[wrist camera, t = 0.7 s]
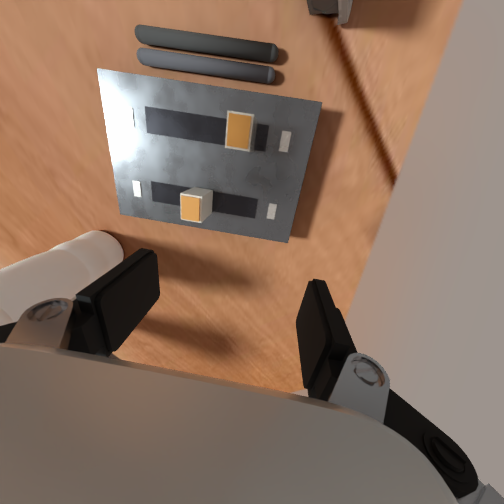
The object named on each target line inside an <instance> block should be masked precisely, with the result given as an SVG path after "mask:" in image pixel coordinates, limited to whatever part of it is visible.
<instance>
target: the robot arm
mask: <svg viewBox="0 0 504 504" xmlns="http://www.w3.org/2000/svg"><path fill="white" fill-rule="evenodd" d="M75 295H76V299H75V300H73V301H71V300H70V299H67V298H53V299H48V300H45V301H42V302H39V303H37V304H35V305H33V306H31V307H30V308H28V309H27V310H25V311H24V313H23V314H22V315H21V317H20V318H19V320H18V321H17V322H13V323H9V324H6V325H2V326H0V504H504V498H503V497H502V496H501V495H500V494H499V493H498V492H497V491H496V490H495V489H494V488H493V487H492V486H491V485H490V484H487V485H484V484H483V483H482V482H481V481H480V480H479V479H478V476H477V473H476V471H475V469H474V467H473V465H472V463H471V461H470V460H469V458H468V457H467V455H466V454H465V453H464V452H463V450H462V449H461V448H460V447H459V446H458V445H457V444H456V443H455V442H454V441H453V440H452V439H451V438H450V437H449V436H447V435H446V434H445V433H444V432H443V431H441V430H440V429H439V428H438V427H436V426H435V425H434V424H433V423H432V422H430V421H429V420H428V419H427V418H425V417H424V416H423V415H422V414H421V413H419V412H418V411H417V410H416V409H414V408H413V407H412V406H411V405H410V404H408V403H407V402H406V401H405V400H403V399H402V398H401V397H400V396H398V395H397V394H396V393H395V392H394V391H392V390H391V389H390V380H389V377H388V375H387V373H386V371H385V370H384V368H383V367H382V366H381V365H380V364H379V363H378V362H377V361H375V360H374V359H373V358H371V357H369V356H367V355H365V354H361V353H357V351H356V348H355V346H354V343H353V341H352V338H351V336H350V334H349V331H348V329H347V326H346V324H345V321H344V319H343V317H342V314H341V312H340V310H339V309H338V308H336V307H335V305H334V302H333V300H332V297H331V294H330V292H329V289H328V287H327V284H326V282H325V281H324V280H318V279H313V280H312V281H309V282H308V285H307V288H306V291H305V294H304V297H303V300H302V303H301V306H300V309H299V312H298V316H297V319H296V329H297V337H298V345H299V354H300V362H301V370H302V378H303V386H304V388H305V389H308V395H309V397H305V396H300V395H296V394H292V393H287V392H282V391H278V390H273V389H268V388H263V387H258V386H253V385H248V384H243V383H238V382H233V381H228V380H223V379H218V378H213V377H208V376H203V375H197V374H192V373H187V372H182V371H177V370H172V369H167V368H161V367H156V366H151V365H146V364H141V363H135V362H130V361H125V360H119V359H114V358H109V356H110V354H111V353H112V352H113V351H116V350H117V349H118V348H119V347H120V346H121V345H122V343H123V342H124V341H125V340H126V338H127V337H128V336H129V335H130V334H131V332H132V331H133V330H134V329H135V327H136V326H137V325H138V324H139V322H140V321H141V320H142V319H143V317H144V316H145V315H146V314H147V312H148V311H149V310H150V309H151V307H152V306H153V305H154V304H155V302H156V301H157V300H158V298H159V296H160V287H159V275H158V263H157V255H156V253H154V251H153V250H149V249H143V248H141V249H139V250H138V251H136V252H135V253H134V254H132V255H131V256H129V257H128V258H126V259H125V260H124V261H122V262H121V263H119V264H118V265H116V266H115V267H114V268H112V269H111V270H109V271H108V272H107V273H105V274H104V275H102V276H101V277H99V278H98V279H97V280H95V281H94V282H92V283H91V284H89V285H88V286H87V287H85V288H84V289H82V290H81V291H80V292H78V293H77V294H75Z"/></svg>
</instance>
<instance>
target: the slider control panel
mask: <svg viewBox="0 0 504 504" xmlns="http://www.w3.org/2000/svg"><path fill="white" fill-rule="evenodd" d="M97 73H98V79H99V85H100V91H101V97H102V104H103V110H104V116H105V122H106V129H107V135H108V141H109V147H110V153H111V160H112V166H113V172H114V178H115V184H116V191H117V197H118V203H119V209H120V214H122V215H127V216H133V217H139V218H145V219H151V220H156V221H162V222H168V223H174V224H180V225H185V226H191V227H197V228H203V229H209V230H215V231H220V232H226V233H232V234H238V235H244V236H249V237H255V238H261V239H267V240H273V241H278V242H284V243H288V240H289V236H290V232H291V228H292V224H293V220H294V216H295V212H296V208H297V203H298V199H299V195H300V191H301V187H302V183H303V179H304V175H305V171H306V167H307V163H308V159H309V154H310V150H311V146H312V142H313V138H314V134H315V130H316V126H317V122H318V118H319V114H320V109H321V105H322V102H318V101H311V100H304V99H298V98H291V97H284V96H278V95H271V94H264V93H258V92H251V91H244V90H238V89H231V88H224V87H218V86H211V85H205V84H198V83H191V82H185V81H178V80H171V79H165V78H158V77H151V76H145V75H138V74H131V73H125V72H118V71H111V70H105V69H98V68H97ZM193 187H198V188H204V189H210V190H213V201H212V213H211V214H210V215H209V216H208V217H207V218H206V219H205V220H204V221H203V222H202V223H198V222H192V221H186V220H181V204H180V193H181V192H184V191H186V190H189V189H191V188H193Z"/></svg>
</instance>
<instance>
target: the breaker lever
mask: <svg viewBox="0 0 504 504" xmlns="http://www.w3.org/2000/svg"><path fill="white" fill-rule="evenodd" d="M212 201H213V190H210V189H204V188H198V187H193V188H191V189H189V190H186V191H184V192H181V193H180V204H181V220H186V221H192V222H198V223H202V222H203V221H204V220H205V219H206V218H207V217H208V216H209V215H210V214H211V213H212Z"/></svg>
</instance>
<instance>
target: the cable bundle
mask: <svg viewBox="0 0 504 504" xmlns="http://www.w3.org/2000/svg"><path fill="white" fill-rule="evenodd" d="M135 35H136V38H137V39H138V40H139V42H141V43H142V44H148V45H155V46H162V47H168V48H175V49H182V50H189V51H196V52H203V53H210V54H216V55H223V56H230V57H237V58H244V59H251V60H258V61H265V62H274V61H276V59H277V57H278V53H279V52H278V48H277V46H276V45H275V44H272V43H265V42H258V41H251V40H244V39H237V38H230V37H223V36H216V35H209V34H202V33H195V32H188V31H181V30H174V29H167V28H160V27H153V26H146V25H137V26H136V27H135ZM137 58H138V60H139V61H140V63H142V64H143V65H146V66H153V67H160V68H166V69H173V70H180V71H187V72H193V73H200V74H207V75H213V76H220V77H227V78H234V79H240V80H247V81H254V82H260V83H267V84H269V83H272V82H273V80H274V78H275V71H274V69H273V68H272V67H270V66H263V65H256V64H249V63H242V62H235V61H229V60H222V59H215V58H208V57H201V56H194V55H188V54H181V53H174V52H167V51H160V50H153V49H147V48H139V49H138V50H137Z"/></svg>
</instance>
